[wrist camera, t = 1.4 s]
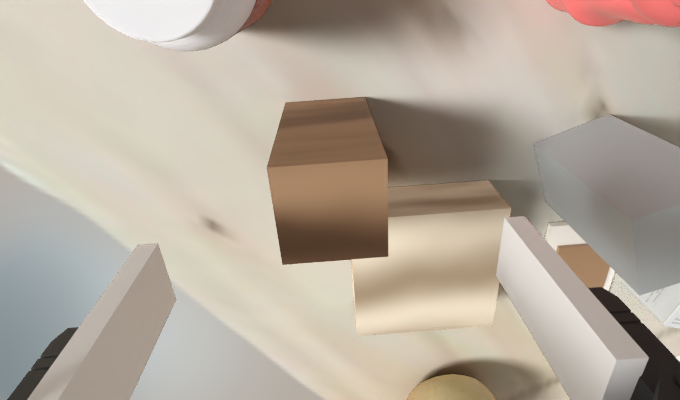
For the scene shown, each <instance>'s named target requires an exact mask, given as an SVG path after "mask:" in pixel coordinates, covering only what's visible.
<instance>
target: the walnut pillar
mask: <svg viewBox="0 0 680 400" xmlns="http://www.w3.org/2000/svg"><path fill="white" fill-rule="evenodd" d="M267 172H268V178H269V184H270V190H271V196H272V203H273V209H274V215H275V221H276V227H277V233H278V239H279V245H280V252H281V258H282V264H283V265H284V264H297V263H311V262H324V261H337V260H350V259H364V258H377V257H388V158H387V155H386V153H385V150H384V147H383V145H382V142H381V139H380V136H379V134H378V131H377V128H376V125H375V123H374V120H373V117H372V115H371V112H370V109H369V106H368V104H367V101H366V98H365V97H356V98H343V99H329V100H315V101H302V102H288V103H285V106H284V110H283V113H282V117H281V120H280V124H279V127H278V131H277V134H276V138H275V141H274V145H273V148H272V151H271V155H270V158H269V162H268V165H267Z"/></svg>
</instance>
